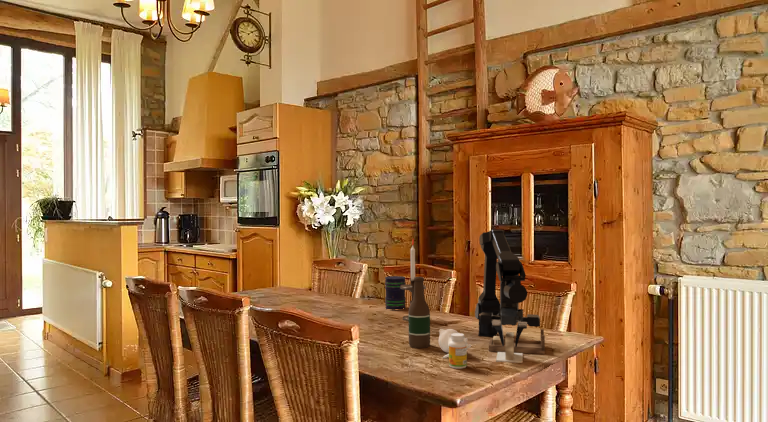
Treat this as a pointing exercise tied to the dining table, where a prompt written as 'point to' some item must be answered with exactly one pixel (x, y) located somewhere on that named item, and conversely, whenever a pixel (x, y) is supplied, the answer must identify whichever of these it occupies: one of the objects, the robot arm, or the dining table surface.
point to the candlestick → (411, 286)
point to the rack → (523, 346)
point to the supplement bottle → (457, 351)
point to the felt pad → (517, 359)
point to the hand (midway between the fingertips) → (509, 346)
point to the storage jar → (395, 292)
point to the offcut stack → (496, 340)
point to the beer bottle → (419, 317)
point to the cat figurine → (448, 340)
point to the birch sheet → (509, 346)
